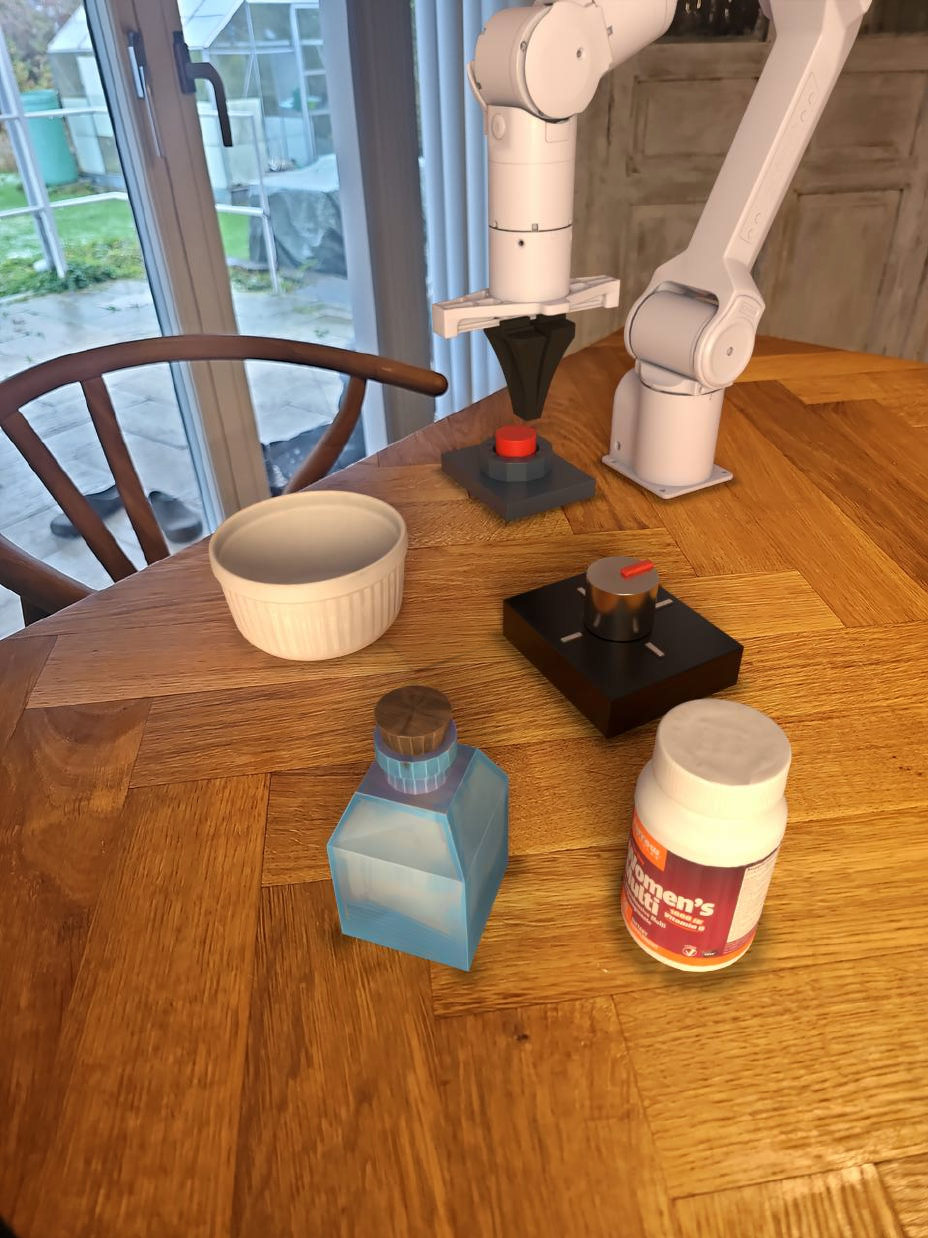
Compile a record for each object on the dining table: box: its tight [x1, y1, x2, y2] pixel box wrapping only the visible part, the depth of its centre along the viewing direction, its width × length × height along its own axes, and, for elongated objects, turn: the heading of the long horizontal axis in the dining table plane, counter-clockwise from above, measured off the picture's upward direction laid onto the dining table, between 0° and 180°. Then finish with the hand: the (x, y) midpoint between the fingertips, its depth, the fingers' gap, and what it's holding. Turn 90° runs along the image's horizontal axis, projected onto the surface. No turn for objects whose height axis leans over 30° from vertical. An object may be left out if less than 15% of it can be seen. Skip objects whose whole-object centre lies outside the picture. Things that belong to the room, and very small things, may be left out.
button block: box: [440, 434, 597, 523], centre depth 76 cm, size 12×9×4 cm
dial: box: [583, 555, 660, 641], centre depth 53 cm, size 4×4×4 cm
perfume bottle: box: [326, 684, 510, 972], centre depth 37 cm, size 6×6×12 cm
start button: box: [494, 424, 537, 457], centre depth 75 cm, size 4×4×2 cm
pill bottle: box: [620, 698, 793, 973], centre depth 36 cm, size 6×6×11 cm
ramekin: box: [208, 489, 409, 662], centre depth 59 cm, size 13×13×7 cm
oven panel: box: [502, 571, 745, 740], centre depth 55 cm, size 12×10×3 cm
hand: (527, 415), depth 65 cm, fingers closed
